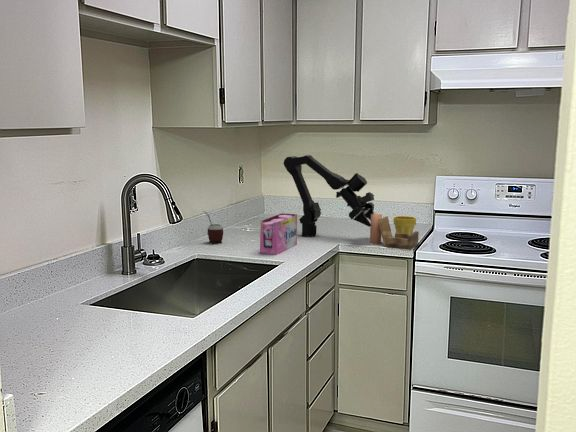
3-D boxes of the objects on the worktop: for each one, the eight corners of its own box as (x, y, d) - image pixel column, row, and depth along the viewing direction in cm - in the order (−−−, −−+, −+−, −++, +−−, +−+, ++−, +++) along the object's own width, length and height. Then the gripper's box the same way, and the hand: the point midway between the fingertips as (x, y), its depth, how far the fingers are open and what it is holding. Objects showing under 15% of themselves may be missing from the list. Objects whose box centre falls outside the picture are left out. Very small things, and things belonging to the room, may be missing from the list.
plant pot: (394, 235, 272) (395, 215, 270) (416, 236, 269) (417, 216, 267) (391, 239, 262) (392, 218, 260) (414, 240, 259) (415, 219, 257)
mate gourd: (225, 241, 253) (225, 208, 251) (219, 245, 246) (218, 211, 243) (210, 240, 255) (210, 208, 253) (203, 244, 248) (202, 210, 245)
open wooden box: (386, 247, 245) (387, 233, 244) (395, 242, 255) (395, 229, 254) (410, 249, 240) (411, 236, 239) (417, 244, 251) (418, 231, 250)
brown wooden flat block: (377, 245, 248) (377, 219, 246) (384, 241, 257) (385, 216, 255) (386, 246, 246) (387, 219, 244) (393, 242, 255) (394, 216, 253)
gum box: (275, 255, 228) (275, 222, 226) (257, 253, 231) (257, 221, 229) (297, 244, 250) (297, 214, 248) (281, 242, 253) (281, 212, 251)
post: (370, 244, 251) (371, 215, 249) (369, 241, 256) (370, 213, 254) (381, 244, 251) (382, 215, 249) (380, 241, 256) (381, 213, 254)
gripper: (356, 188, 244) (379, 215, 241) (370, 184, 261) (393, 210, 257) (338, 205, 249) (361, 232, 246) (354, 200, 266) (376, 225, 262)
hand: (373, 224), depth 253 cm, fingers open, 9 cm apart
